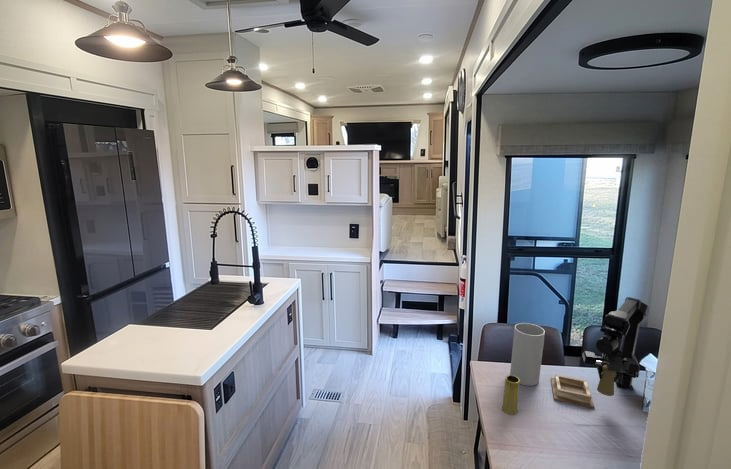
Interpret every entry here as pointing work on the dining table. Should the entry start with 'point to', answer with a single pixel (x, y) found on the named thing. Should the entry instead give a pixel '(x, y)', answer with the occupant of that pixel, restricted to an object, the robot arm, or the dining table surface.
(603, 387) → the cork
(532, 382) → the cylinder vase
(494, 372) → the dining table surface
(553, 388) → the socket block
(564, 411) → the dining table surface
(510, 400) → the vase
